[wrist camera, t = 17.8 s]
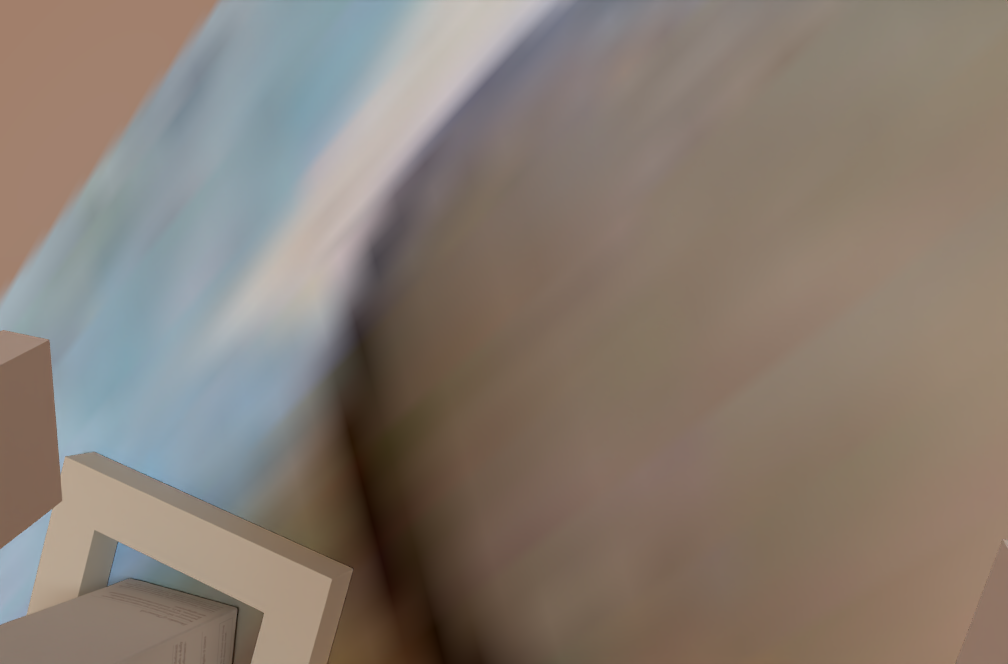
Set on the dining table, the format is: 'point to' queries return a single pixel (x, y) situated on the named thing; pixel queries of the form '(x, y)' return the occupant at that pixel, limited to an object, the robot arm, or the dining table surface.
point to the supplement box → (123, 629)
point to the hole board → (189, 555)
